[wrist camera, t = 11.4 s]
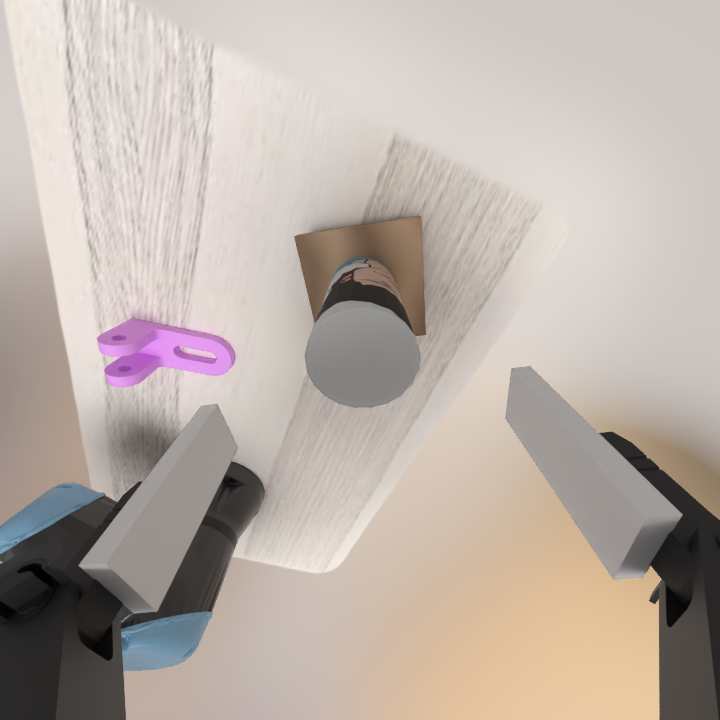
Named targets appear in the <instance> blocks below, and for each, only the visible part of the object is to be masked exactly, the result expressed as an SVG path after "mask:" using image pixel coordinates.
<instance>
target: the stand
mask: <svg viewBox="0 0 720 720" xmlns="http://www.w3.org/2000/svg"><path fill="white" fill-rule="evenodd" d="M295 241H296V246H297V250H298V254H299V258H300V263H301V267H302V271H303V275H304V279H305V284H306V288H307V292H308V296H309V301H310V305H311V309H312V313H313V317H314V322H316V319H317V317H318V314H319V311H320V309H321V306H322V304H323V301H324V298H325V296H326V293H327V291H328V288H329V285H330V283H331V280H332V278H333V276H334V274H335V272H336V271H337V269H338V268H339V267H340V266H341V265H343V264H344V263H345V262H346V261H348V260H351V259H354V258H357V257H368V258H372V259H375V260H378V261H379V262H381V263H382V264H383V265H385V266H386V267H387V269H388V270H389V271H390V273H391V274H392V276H393V279H394V281H395V284H396V287H397V289H398V292H399V295H400V297H401V300H402V303H403V305H404V308H405V311H406V313H407V316H408V319H409V321H410V324H411V327H412V329H413V332H414V335H415V336H420V335H426V331H425V305H424V279H423V254H422V228H421V216H414V217H407V218H401V219H395V220H389V221H382V222H376V223H370V224H363V225H357V226H351V227H345V228H338V229H332V230H326V231H320V232H313V233H307V234H301V235H297V236H295Z"/></svg>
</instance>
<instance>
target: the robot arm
mask: <svg viewBox="0 0 720 720" xmlns="http://www.w3.org/2000/svg"><path fill="white" fill-rule="evenodd" d="M505 418H506V420H507V422H508V423H509V424H510V426H511V427H512V429H513V430H514V432H515V433H516V435H517V436H518V438H519V439H520V441H521V442H522V444H523V445H524V447H525V448H526V450H527V451H528V453H529V454H530V456H531V457H532V459H533V460H534V462H535V463H536V465H537V466H538V468H539V469H540V471H541V472H542V474H543V475H544V477H545V478H546V480H547V481H548V483H549V484H550V486H551V487H552V489H553V490H554V492H555V493H556V495H557V496H558V498H559V499H560V501H561V502H562V504H563V505H564V507H565V508H566V510H567V511H568V513H569V514H570V516H571V517H572V519H573V520H574V522H575V523H576V525H577V526H578V528H579V529H580V531H581V532H582V534H583V535H584V536H585V538H586V540H587V541H588V543H589V544H590V546H591V547H592V549H593V550H594V552H595V553H596V554H597V556H598V557H599V559H600V560H601V562H602V564H603V565H604V567H605V568H606V569H607V571H608V573H609V574H610V576H611V577H612V579H614V580H615V579H628V578H643V577H644V575H645V573H646V572H647V571H648V569H649V567H650V566H652V567H653V569H654V570H655V571H656V572H657V574H658V575H659V576H660V577H661V579H662V580H661V581H660V583H659V584H658V586H657V587H656V588H655V590H654V591H653V593H652V595H651V597H650V600H649V601H650V602H652V603H654V604H655V603H656V602H657V601H658V599H659V681H660V682H659V684H660V685H659V686H660V688H659V689H660V720H720V520H719V519H717V518H716V517H715V516H713V515H712V514H711V513H710V512H709V511H708V510H707V509H706V508H704V507H703V506H702V505H701V504H700V503H699V502H698V501H696V500H695V499H694V498H693V497H692V496H691V495H690V494H689V493H688V492H686V491H685V490H684V489H683V488H682V487H681V486H680V485H678V484H677V483H676V482H675V481H674V480H673V479H672V478H670V476H668V475H667V474H666V473H665V472H664V471H663V470H660V469H659V467H658V466H657V465H656V464H655V463H654V462H653V461H652V460H650V459H647V457H646V455H644V454H643V452H641V451H640V450H639V449H638V448H637V447H636V446H635V445H634V444H632V443H631V442H629V441H628V440H626V439H624V438H622V437H621V436H619V435H617V434H615V433H613V432H605V433H598V432H597V431H596V430H595V429H594V428H593V427H592V426H591V425H590V424H589V423H588V422H587V421H586V420H585V419H584V418H583V417H582V416H581V415H580V414H579V413H577V411H576V410H575V409H573V408H572V407H571V406H570V405H569V404H568V403H567V402H566V401H565V400H564V399H563V398H562V397H561V396H560V395H559V394H558V393H557V392H556V391H555V390H554V389H553V388H552V387H551V386H550V385H549V384H548V383H547V382H545V380H544V379H543V378H542V377H541V376H539V374H537V373H536V372H535V371H534V370H533V369H532V368H531V367H530V366H528V367H519V368H512V369H511V377H510V385H509V393H508V401H507V409H506V417H505ZM237 449H238V446H237V444H236V442H235V440H234V438H233V436H232V434H231V432H230V430H229V428H228V426H227V423H226V421H225V419H224V417H223V415H222V413H221V411H220V409H219V407H218V405H217V404H214V405H206V406H201V407H200V409H199V410H198V411H197V412H196V414H195V415H194V416H193V418H192V419H191V420H190V421H189V423H188V424H187V425H186V427H185V428H184V429H183V431H182V432H181V433H180V434H179V436H178V437H177V438H176V440H175V441H174V442H173V443H172V445H171V446H170V447H169V449H168V450H167V451H166V453H165V454H164V455H163V456H162V458H161V459H160V460H159V462H158V463H157V464H156V465H155V467H154V468H153V469H152V471H151V472H150V473H149V475H148V476H147V477H146V478H145V480H144V481H142V482H138V483H137V484H136V485H135V486H133V487H132V488H131V489H130V490H129V491H128V492H126V493H125V494H124V495H123V496H122V498H121V499H120V500H119V501H118V502H116V501H114V500H112V499H111V498H109V497H107V496H105V495H106V494H105V493H99V492H96V491H94V490H92V489H89V488H87V487H84V486H83V485H81V484H78V483H73V482H71V483H70V482H69V483H63V484H60V485H57V486H56V487H53V488H52V489H50V490H49V491H47V492H46V493H44V494H43V495H41V496H40V497H39V498H37V499H36V500H34V501H33V502H32V503H31V504H29V505H28V506H26V507H25V508H24V509H22V510H21V511H20V512H18V513H17V514H16V515H14V516H13V517H12V518H10V519H9V520H8V521H6V522H5V523H4V524H2V525H1V526H0V720H126V712H125V694H124V675H123V670H126V671H127V670H128V671H140V670H153V669H161V668H166V667H170V666H174V665H177V664H179V663H181V662H183V661H185V660H186V659H188V658H189V657H190V656H191V655H192V654H193V653H194V651H195V650H196V648H197V647H198V645H199V642H200V640H201V638H202V635H203V633H204V631H205V629H206V626H207V624H208V621H209V619H210V618H211V617H212V614H213V613H212V611H213V608H214V605H215V602H216V599H217V597H218V594H219V591H220V588H221V585H222V583H223V580H224V577H225V574H226V572H227V568H228V566H229V563H230V560H231V558H232V555H233V552H234V549H235V546H236V544H237V541H238V539H239V537H240V536H241V535H242V533H243V532H244V530H245V529H246V528H247V526H248V525H249V523H250V522H251V520H252V519H253V517H254V516H255V515H256V514H257V513H258V511H259V509H260V507H261V504H262V501H263V497H264V489H263V486H262V484H261V482H260V480H259V479H258V478H257V477H256V476H255V475H254V474H253V473H252V472H250V471H249V470H247V469H246V468H244V467H242V466H240V465H237V464H235V463H232V462H231V461H232V459H233V457H234V455H235V453H236V451H237Z"/></svg>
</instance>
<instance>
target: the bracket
mask: <svg viewBox="0 0 720 720" xmlns="http://www.w3.org/2000/svg"><path fill="white" fill-rule="evenodd" d="M97 341H98V345H99V349H100V352H101V353H102V354H104V355H107V356H113V357H120V358H119V359H117V360H116V361H114V362H113V363H111V364H110V365H108V366H107V367H106V368H105V375H106V380H107V382H108V384H110V385H112V386H116V387H127V386H132V385H135V384H138V383H140V382H141V381H143V380H144V379H145V378H146V377H148V376H149V375H150V374H151V373H152V372H154V371H155V370H156V369H157V368H158V367H161V366H165V367H170V368H175V369H181V370H186V371H191V372H196V373H201V374H207V375H212V376H217V375H222V374H224V373H226V372H227V371H228V370H229V368H230V367H231V366H232V365H233V363H234V359H235V355H234V351H233V349H232V347H231V346H230V345H229V344H228V343H227V342H226V341H225V340H224V339H222V338H220V337H218V336H214V335H210V334H205V333H200V332H195V331H190V330H185V329H181V328H176V327H171V326H166V325H161V324H156V323H151V322H147V321H142V320H137V319H130V320H128V321H126V322H124V323H122V324H120V325H119V326H117V327H115V328H113V329H111V330H109V331H107V332H105V333H103V334H101V335H100V336H99V337H98V338H97ZM179 346H183V347H188V348H193V349H198V350H203V351H208V352H212V353H213V354H215V356H216V358H217V359H210V358H205V357H200V356H195V355H190V354H185V353H183V352H182V351H181V350H180V349H179ZM121 356H122V357H121Z"/></svg>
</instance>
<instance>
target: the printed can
mask: <svg viewBox="0 0 720 720" xmlns="http://www.w3.org/2000/svg"><path fill="white" fill-rule="evenodd" d="M305 360H306V368H307V372H308V374H309V376H310V378H311V380H312V382H313V384H314V385H315V386H316V387H317V388H318V389H319V390H320V391H321V392H322V393H323V394H324V395H325V396H326V397H328V398H330V399H332V400H334V401H335V402H337V403H339V404H343V405H347V406H351V407H355V408H358V407H375V406H378V405H382V404H386V403H388V402H390V401H392V400H394V399H395V398H397V397H399V396H400V395H402V394H403V393H404V392H405V391H406V389H407V388H408V387H409V386H410V385H411V384H412V383H413V380H414V378H415V376H416V374H417V372H418V370H419V360H420V352H419V348H418V344H417V341H416V337H415V335H414V332H413V329H412V327H411V324H410V321H409V319H408V316H407V313H406V311H405V308H404V305H403V303H402V300H401V297H400V295H399V292H398V289H397V287H396V284H395V281H394V279H393V276H392V274H391V273H390V271H389V270H388V269H387V267H386V266H385V265H383V264H382V263H381V262H379V261H378V260H375V259H372V258H368V257H357V258H354V259H351V260H348V261H346V262H345V263H344V264H343V265H341V266H340V267H339V268H338V269H337V271H336V272H335V274H334V276H333V278H332V280H331V283H330V285H329V288H328V291H327V293H326V296H325V298H324V301H323V304H322V306H321V309H320V311H319V314H318V317H317V319H316V322H315V324H314V327H313V330H312V332H311V335H310V337H309V340H308V345H307V349H306V353H305Z"/></svg>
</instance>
